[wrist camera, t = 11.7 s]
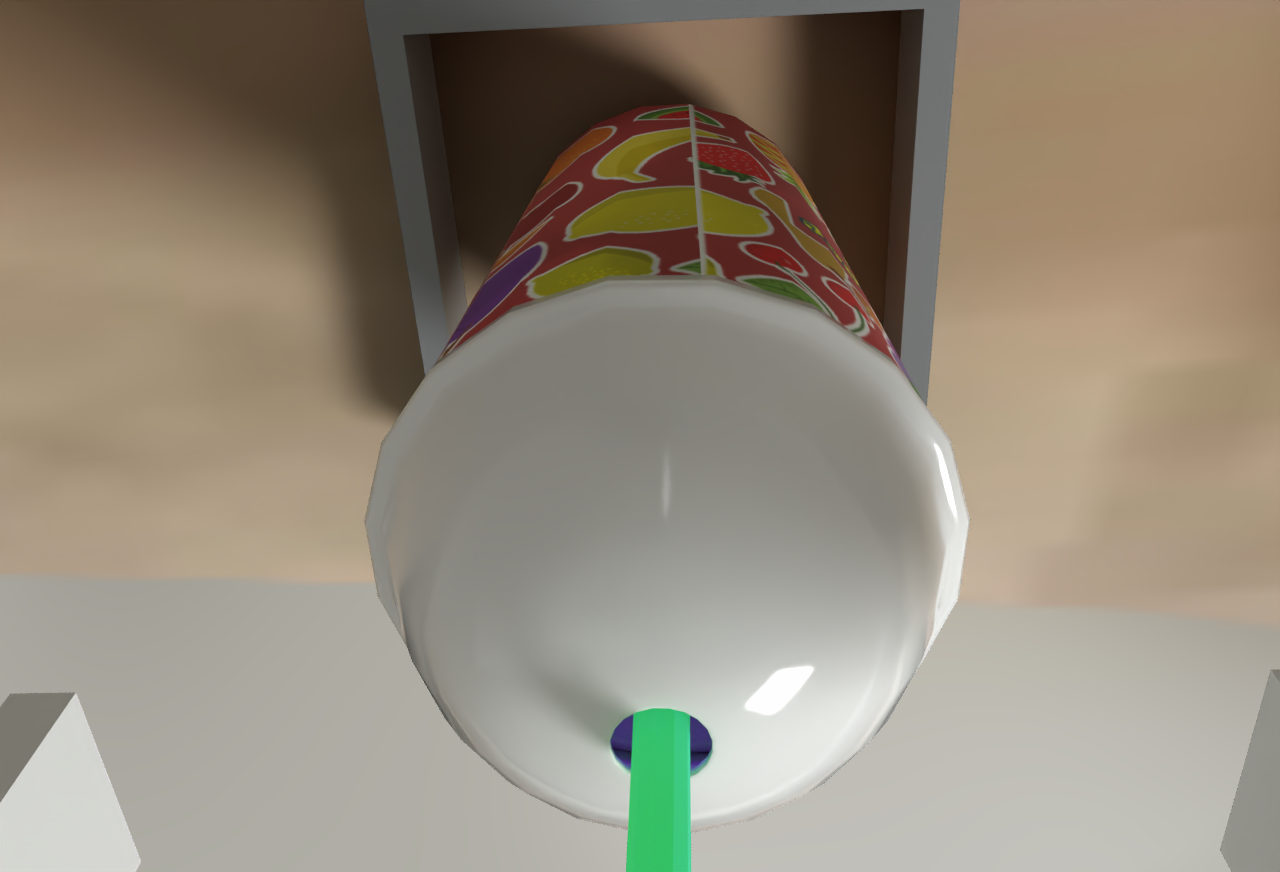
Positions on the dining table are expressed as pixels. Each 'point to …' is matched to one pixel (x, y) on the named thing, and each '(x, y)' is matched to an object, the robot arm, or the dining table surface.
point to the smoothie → (668, 494)
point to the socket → (444, 3)
